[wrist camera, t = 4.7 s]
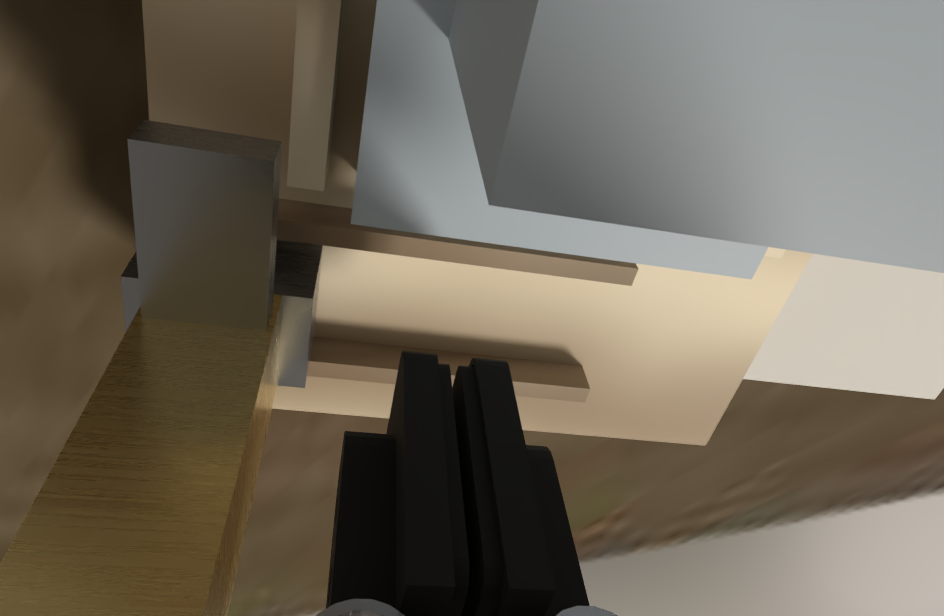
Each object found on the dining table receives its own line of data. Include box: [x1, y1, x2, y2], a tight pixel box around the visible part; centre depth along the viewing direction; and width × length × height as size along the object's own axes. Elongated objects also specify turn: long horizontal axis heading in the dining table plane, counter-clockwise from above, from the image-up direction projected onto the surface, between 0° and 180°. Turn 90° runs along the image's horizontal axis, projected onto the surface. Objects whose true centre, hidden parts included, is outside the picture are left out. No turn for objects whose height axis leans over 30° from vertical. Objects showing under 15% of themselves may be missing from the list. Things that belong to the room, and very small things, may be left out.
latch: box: [0, 120, 323, 616], centre depth 9 cm, size 5×3×8 cm, turn 168°
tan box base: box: [142, 0, 812, 446], centre depth 13 cm, size 16×13×5 cm
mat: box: [743, 254, 944, 399], centre depth 19 cm, size 11×9×1 cm
